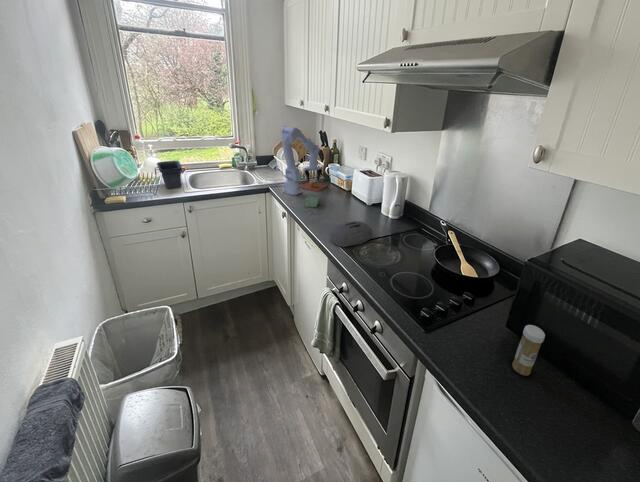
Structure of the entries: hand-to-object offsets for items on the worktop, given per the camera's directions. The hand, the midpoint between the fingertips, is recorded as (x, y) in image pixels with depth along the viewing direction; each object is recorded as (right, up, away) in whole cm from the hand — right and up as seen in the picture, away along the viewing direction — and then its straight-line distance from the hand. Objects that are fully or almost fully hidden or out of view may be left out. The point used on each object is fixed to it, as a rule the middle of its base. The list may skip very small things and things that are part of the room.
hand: (313, 180), depth 213 cm
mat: (0, -5, +2) cm, 5 cm away
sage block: (+2, -17, -30) cm, 35 cm away
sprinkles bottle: (+70, -61, -132) cm, 162 cm away
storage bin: (-96, -5, -11) cm, 97 cm away
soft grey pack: (+25, -34, -70) cm, 81 cm away
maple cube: (0, -4, +2) cm, 5 cm away
